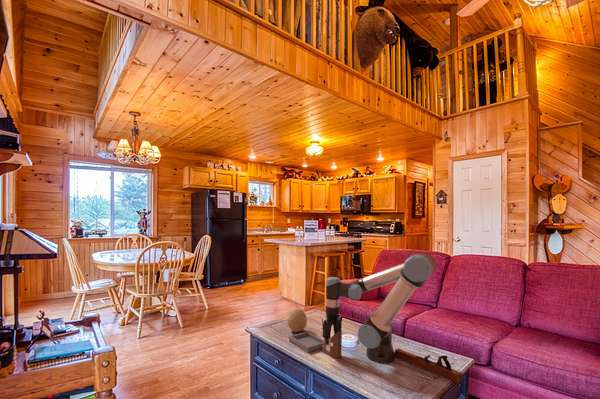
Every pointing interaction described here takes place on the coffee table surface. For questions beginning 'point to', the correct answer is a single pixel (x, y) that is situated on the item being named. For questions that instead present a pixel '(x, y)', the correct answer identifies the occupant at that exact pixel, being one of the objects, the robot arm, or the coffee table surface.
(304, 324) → the fossilized egg
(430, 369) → the hand plane
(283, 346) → the coffee table surface
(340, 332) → the brown wooden piece
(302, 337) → the tray
